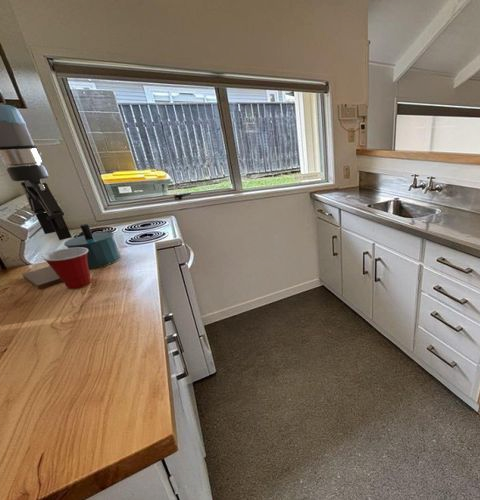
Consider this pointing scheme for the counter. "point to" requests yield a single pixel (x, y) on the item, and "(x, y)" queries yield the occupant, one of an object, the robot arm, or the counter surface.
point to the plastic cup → (70, 266)
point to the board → (42, 277)
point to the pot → (101, 253)
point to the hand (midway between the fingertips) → (58, 235)
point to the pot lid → (88, 237)
